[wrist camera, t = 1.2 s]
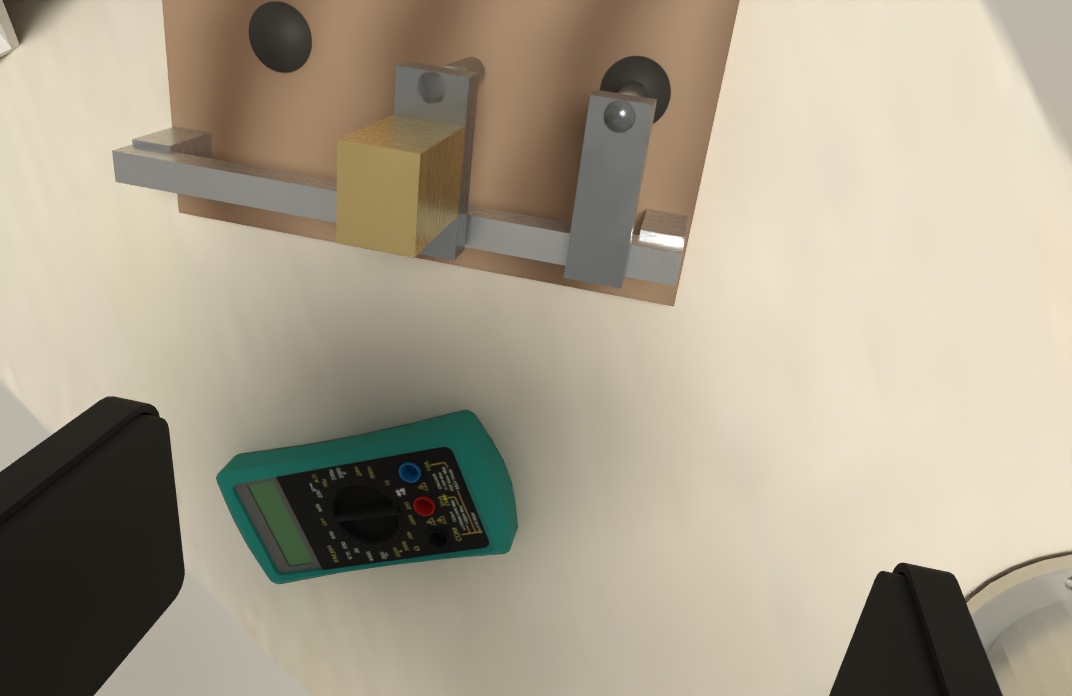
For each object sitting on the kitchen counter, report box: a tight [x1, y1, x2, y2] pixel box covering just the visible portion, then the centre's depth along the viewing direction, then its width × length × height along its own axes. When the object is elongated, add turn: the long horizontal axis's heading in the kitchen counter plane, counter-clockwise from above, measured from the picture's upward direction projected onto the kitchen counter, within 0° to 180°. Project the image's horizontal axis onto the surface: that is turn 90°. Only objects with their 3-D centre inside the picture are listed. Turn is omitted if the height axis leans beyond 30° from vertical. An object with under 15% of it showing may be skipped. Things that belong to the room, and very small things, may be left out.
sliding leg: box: [336, 57, 485, 261], centre depth 27 cm, size 2×6×9 cm, turn 173°
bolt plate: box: [112, 0, 739, 306], centre depth 30 cm, size 22×12×7 cm, turn 83°
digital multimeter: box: [216, 411, 518, 584], centre depth 41 cm, size 7×15×3 cm, turn 108°
